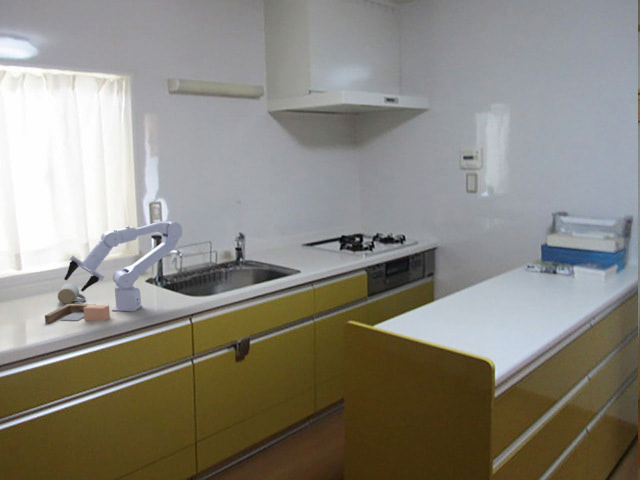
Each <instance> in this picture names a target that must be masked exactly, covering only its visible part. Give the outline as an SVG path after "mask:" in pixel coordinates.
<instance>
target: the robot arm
mask: <svg viewBox="0 0 640 480" xmlns="http://www.w3.org/2000/svg"><path fill="white" fill-rule="evenodd" d="M153 233H160V234H162V242H161V243H159V245H157V246H155V247H154V248H153V249H151V250H150V251H149V252H148V253H146V254H145V255H143V256H142V257H140V258H139V259H138V260H137V261H135V262H134V263H133V264H131V265H128V266H125V267H124V268H121V269H118V270H116V271H115V272H114V273H113V276H112V280H113V282H114V283H115V286H114V294H115V295H114V297H115V307H114V308H113V309H111V310H112V311H113V312H116V311H117V312H135V311H136V310H138V309H140V308H141V307H143V305H142V301H141V300H142V299H141V298H142V297H141V296H142V295H141V290H140V288H138V287H134V284H135V282H136V281H137V280H138V279H139V277H140V276H141V275H142V274H143V273H144V272H145V271H147V270H148V269H149V268H151V267H152V266H154V265H155V264H156V263H157V262H159V261H160V260H161V259H163V258H164V257H166V256H167V255H168V254H169V253H171V252H172V251H174V250H175V248H176V246H177V244H178V242H179V240H180V238H181V237H182V236H183V227H182V225H181V223H179V222H177V221H172V220H169V219H166V220H162V221H161V220H160V221H155V222H153V223H149V224H147V225H143V226H140V227H137V228H135V227H134V226H132V225H131V226H129V225H125V228H120V229H116V228H115V229H113V231H110V230H109V231H105V232H104V233H102V234H101V237H100V240H99V241H98V242H97V243H96V245H95V246H94V247H93V248H92V249H91V251H90V252H89V253H88V255H87V256H86V257H85V259H84V260H83V261H82V260H80V259H78V257H76V256H75V255H72V256H71V257H70V258H69V260H70V261H69V265H68V268H67V269H68V270H67V273H66V274H65V276H64V278H63V280H64V281H68V280H69V278H70V277H71V275H72V274H73V273H74V272H75V271H76V270H77V269H78V268H79V267H80V268H81V269H83V270H85V272H87V273H89V274H90V275H91V276H90V277H89V279H88V281H87V282H86V283H85V284H84V285H83V286H82V288H81V289H80V292H83V293H84V291H86V290H87V289H88V288H90V287H91V286H92V285H94V284H96V283H98V282H99V281H101V282H102V281H103V280H104V279H105V276H104V275H103V274H101V273H99V272H98V271H96V270H97V269H98V267H99V266H100V265H101V264H102V263H103V261H104V260H105V259H106V258H107V256H108V255H109V253H110V252H111V251H112V250H113V248H116V247H118V246H119V245H120V244H121V245H122V244H125V243H129V242H133V241H136V240H137V239H138V237H139V236H145V235H149V234H153Z"/></svg>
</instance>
